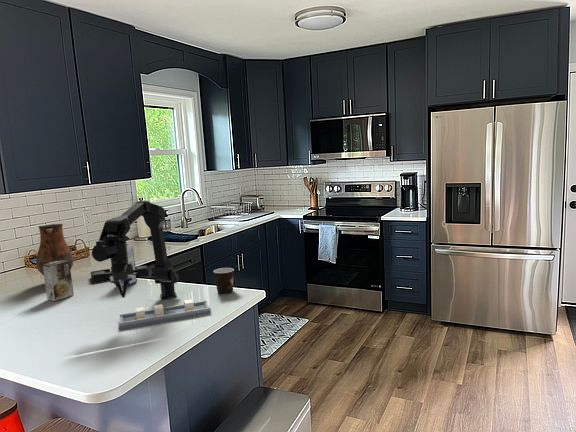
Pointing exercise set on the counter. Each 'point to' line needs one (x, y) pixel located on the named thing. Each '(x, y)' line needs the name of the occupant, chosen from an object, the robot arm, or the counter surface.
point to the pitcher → (52, 246)
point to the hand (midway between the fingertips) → (123, 297)
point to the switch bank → (169, 315)
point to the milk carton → (131, 261)
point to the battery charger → (105, 272)
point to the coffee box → (58, 280)
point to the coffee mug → (224, 280)
